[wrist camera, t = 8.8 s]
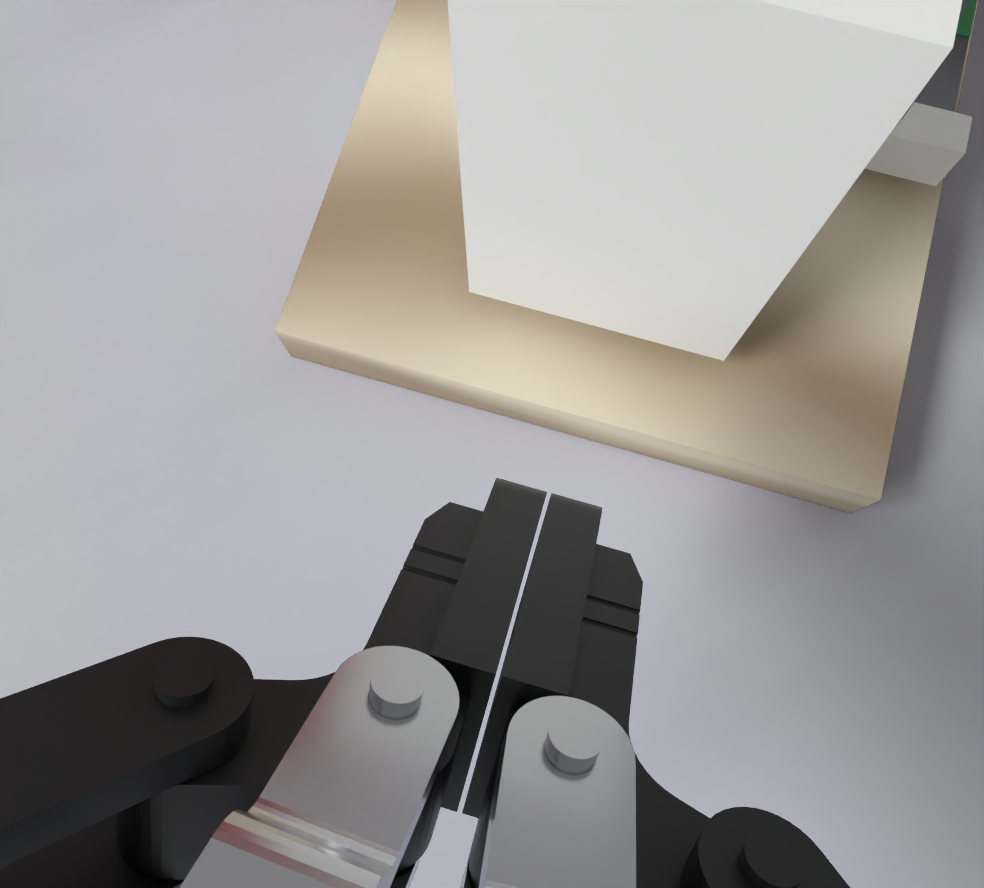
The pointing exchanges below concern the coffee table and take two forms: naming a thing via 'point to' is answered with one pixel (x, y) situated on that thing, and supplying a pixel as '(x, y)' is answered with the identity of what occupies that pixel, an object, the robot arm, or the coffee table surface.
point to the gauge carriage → (681, 147)
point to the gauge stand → (601, 352)
